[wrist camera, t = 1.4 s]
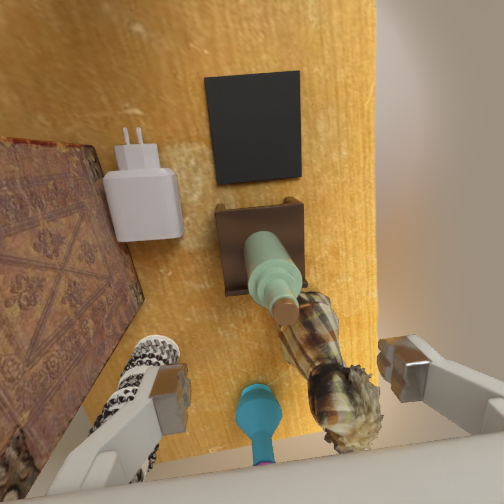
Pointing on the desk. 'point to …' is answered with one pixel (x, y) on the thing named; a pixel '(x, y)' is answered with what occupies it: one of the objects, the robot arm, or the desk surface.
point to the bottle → (272, 276)
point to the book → (54, 297)
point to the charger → (142, 194)
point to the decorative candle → (145, 355)
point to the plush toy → (331, 376)
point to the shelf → (249, 222)
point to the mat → (255, 126)
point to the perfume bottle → (259, 420)
